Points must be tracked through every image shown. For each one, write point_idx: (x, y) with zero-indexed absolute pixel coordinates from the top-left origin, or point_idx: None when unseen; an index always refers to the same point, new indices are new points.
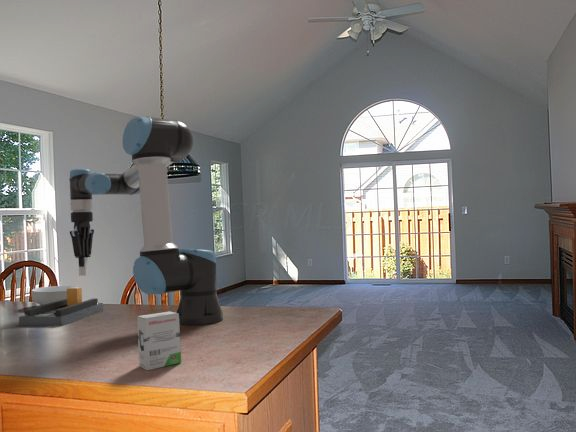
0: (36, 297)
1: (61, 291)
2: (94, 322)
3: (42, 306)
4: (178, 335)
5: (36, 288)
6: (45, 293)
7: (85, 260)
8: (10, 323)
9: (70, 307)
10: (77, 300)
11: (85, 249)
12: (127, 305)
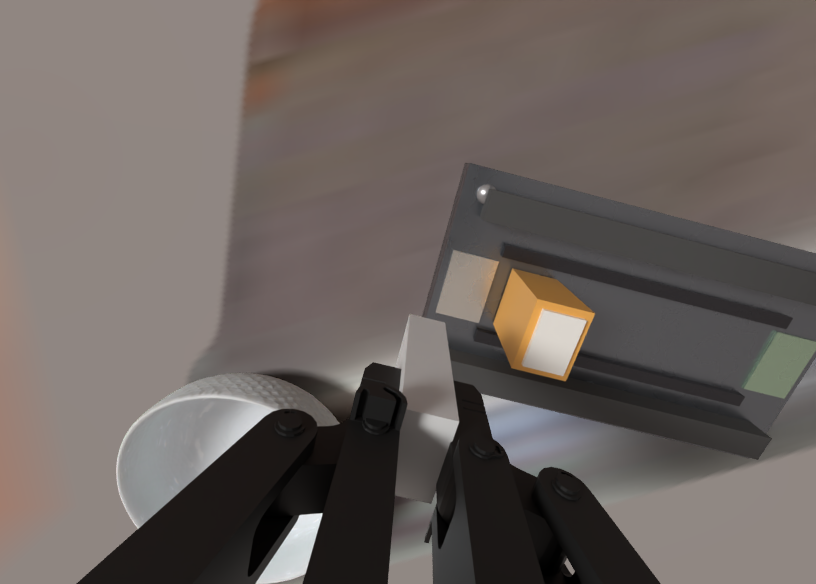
0: None
1: None
2: (808, 113)
3: (677, 415)
4: None
5: None
6: None
7: (453, 398)
8: (645, 477)
9: (780, 264)
10: (565, 287)
11: (386, 536)
12: (307, 53)
